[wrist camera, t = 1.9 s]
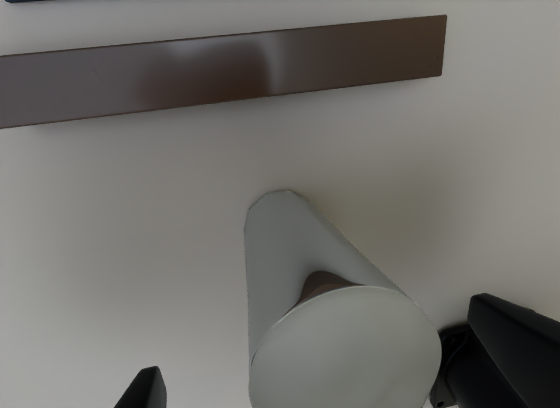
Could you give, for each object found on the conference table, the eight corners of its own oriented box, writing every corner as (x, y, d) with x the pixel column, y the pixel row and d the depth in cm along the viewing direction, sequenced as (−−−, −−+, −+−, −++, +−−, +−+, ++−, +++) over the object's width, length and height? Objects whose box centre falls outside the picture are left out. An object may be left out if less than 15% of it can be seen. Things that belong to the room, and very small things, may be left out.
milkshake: (215, 275, 16) (227, 574, 6) (241, 165, 14) (305, 362, 5) (307, 285, 17) (424, 547, 8) (341, 185, 15) (544, 372, 6)
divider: (419, 74, 14) (442, 75, 12) (20, 121, 12) (-5, 129, 10) (423, 19, 13) (448, 14, 12) (-5, 59, 11) (-35, 59, 9)
